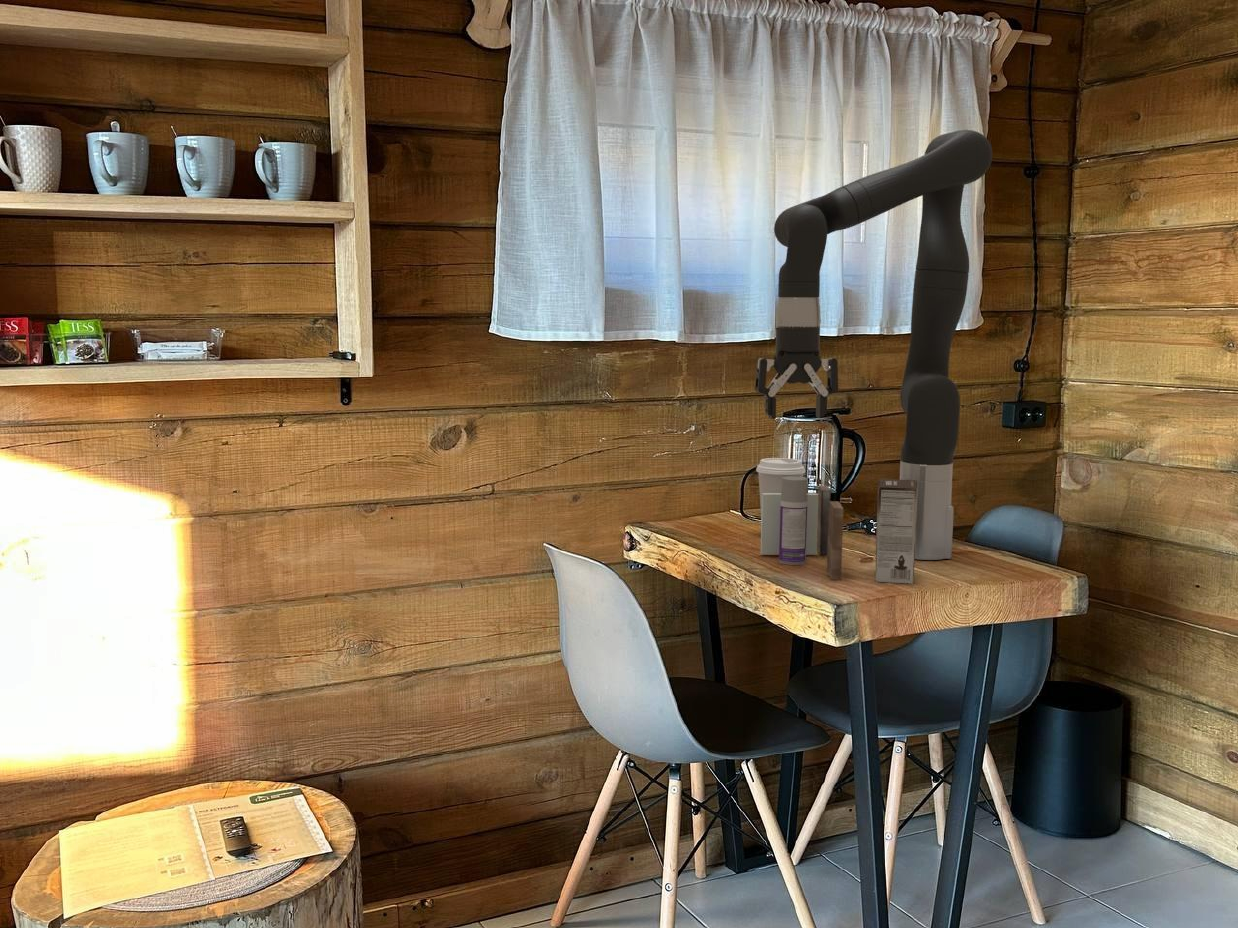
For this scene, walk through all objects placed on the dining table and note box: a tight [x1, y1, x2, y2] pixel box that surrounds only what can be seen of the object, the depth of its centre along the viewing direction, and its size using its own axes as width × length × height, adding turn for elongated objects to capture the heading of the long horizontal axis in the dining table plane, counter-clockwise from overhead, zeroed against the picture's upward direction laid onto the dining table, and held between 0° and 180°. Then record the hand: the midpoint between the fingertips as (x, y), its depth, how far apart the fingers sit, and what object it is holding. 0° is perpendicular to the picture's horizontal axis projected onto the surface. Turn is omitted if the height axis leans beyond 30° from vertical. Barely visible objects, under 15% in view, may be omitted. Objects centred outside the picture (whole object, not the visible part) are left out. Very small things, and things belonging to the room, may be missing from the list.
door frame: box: [817, 485, 844, 581], centre depth 209 cm, size 2×24×12 cm, turn 176°
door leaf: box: [760, 492, 819, 556], centre depth 216 cm, size 10×1×11 cm, turn 92°
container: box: [778, 476, 808, 566], centre depth 210 cm, size 5×5×15 cm
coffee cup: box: [755, 457, 806, 518], centre depth 233 cm, size 10×10×15 cm
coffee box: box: [874, 478, 918, 585], centre depth 200 cm, size 9×6×16 cm
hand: (795, 418), depth 208 cm, fingers open, 8 cm apart
